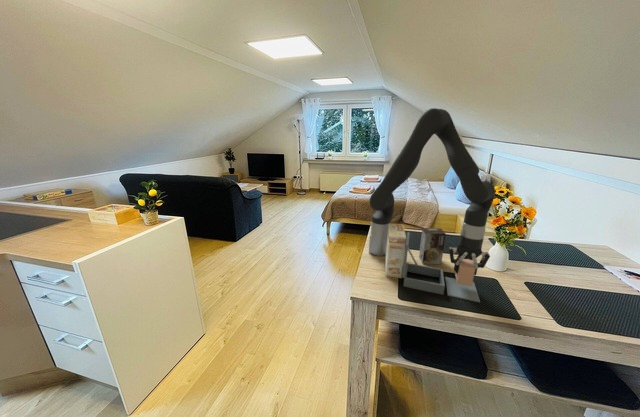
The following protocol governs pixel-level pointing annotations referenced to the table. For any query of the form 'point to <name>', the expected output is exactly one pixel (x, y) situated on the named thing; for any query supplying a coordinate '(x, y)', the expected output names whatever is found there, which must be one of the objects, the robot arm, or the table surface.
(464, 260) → the block
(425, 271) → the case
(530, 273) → the table surface
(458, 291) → the mat
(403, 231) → the coffeecake box
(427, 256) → the coffee box
